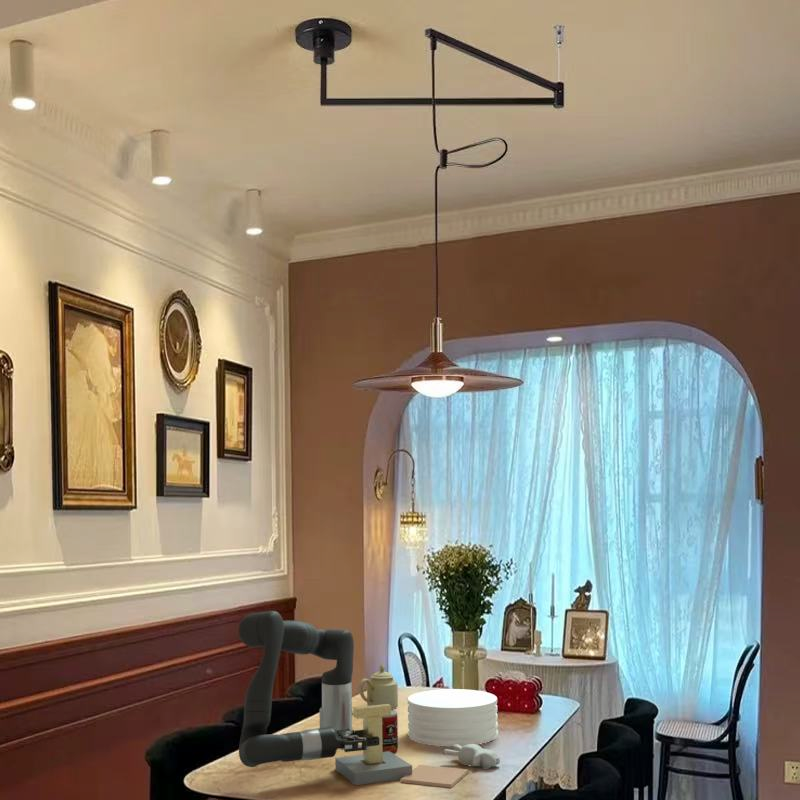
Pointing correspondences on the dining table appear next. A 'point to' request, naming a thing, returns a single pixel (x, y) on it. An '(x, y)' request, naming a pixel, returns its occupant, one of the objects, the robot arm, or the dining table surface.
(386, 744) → the canned food
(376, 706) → the t key
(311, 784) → the dining table surface
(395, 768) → the cover plate
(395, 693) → the sugar bowl
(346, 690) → the robot arm
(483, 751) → the bunny figurine
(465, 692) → the plate stack
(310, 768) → the dining table surface
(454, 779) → the tile
